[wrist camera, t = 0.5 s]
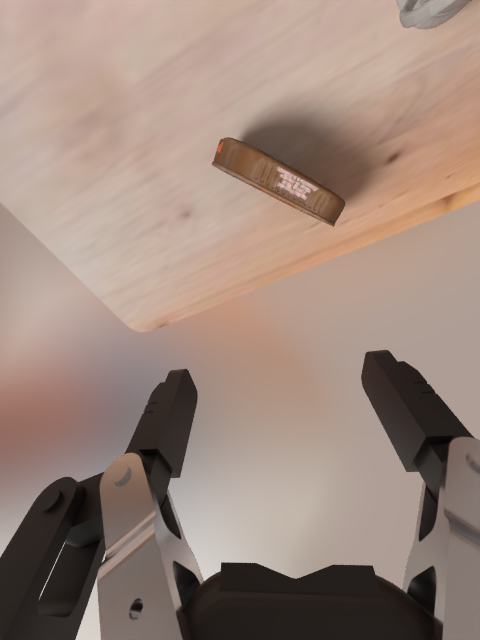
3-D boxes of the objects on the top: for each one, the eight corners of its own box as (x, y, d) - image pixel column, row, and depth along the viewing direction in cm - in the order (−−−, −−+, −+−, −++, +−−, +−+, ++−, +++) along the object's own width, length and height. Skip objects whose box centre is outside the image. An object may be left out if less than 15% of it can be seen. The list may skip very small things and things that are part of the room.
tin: (210, 164, 25) (209, 171, 19) (220, 132, 24) (223, 127, 17) (315, 218, 30) (343, 238, 24) (329, 194, 29) (363, 209, 22)
